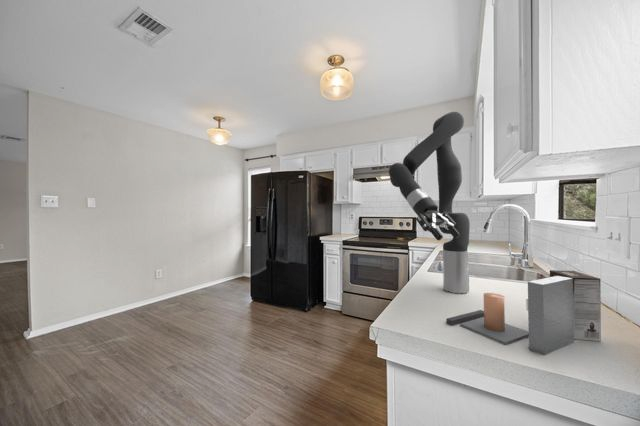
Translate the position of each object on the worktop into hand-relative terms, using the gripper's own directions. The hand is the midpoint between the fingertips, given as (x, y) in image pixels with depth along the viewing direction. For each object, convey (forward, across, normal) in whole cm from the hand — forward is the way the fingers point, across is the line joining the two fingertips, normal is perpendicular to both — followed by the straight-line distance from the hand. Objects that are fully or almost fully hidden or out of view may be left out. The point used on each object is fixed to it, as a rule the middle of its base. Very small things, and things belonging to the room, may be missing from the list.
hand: (449, 237), depth 84 cm
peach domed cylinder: (+28, -3, +5) cm, 28 cm away
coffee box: (+36, +15, -2) cm, 39 cm away
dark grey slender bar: (+23, -3, +12) cm, 26 cm away
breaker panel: (+36, +1, -3) cm, 36 cm away
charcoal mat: (+28, -3, +5) cm, 29 cm away
